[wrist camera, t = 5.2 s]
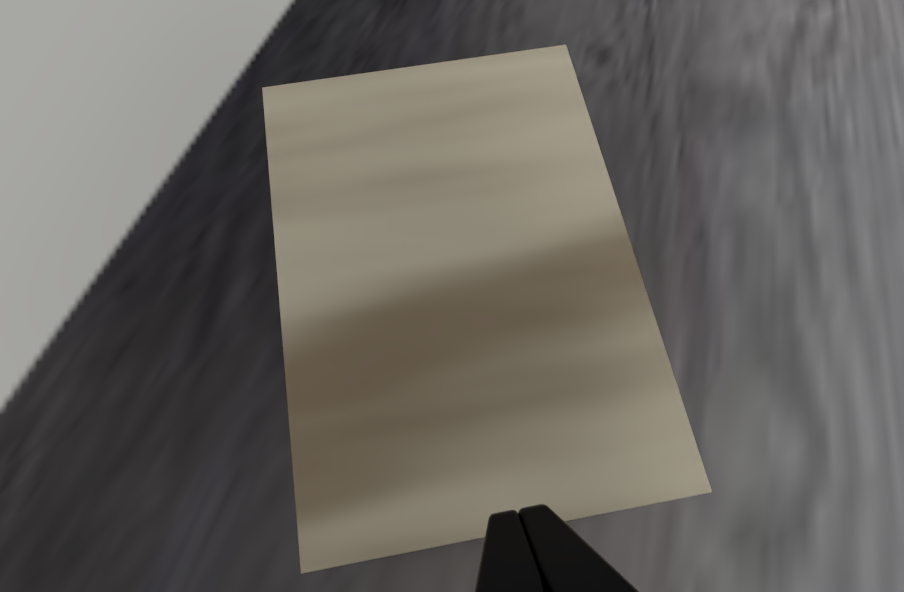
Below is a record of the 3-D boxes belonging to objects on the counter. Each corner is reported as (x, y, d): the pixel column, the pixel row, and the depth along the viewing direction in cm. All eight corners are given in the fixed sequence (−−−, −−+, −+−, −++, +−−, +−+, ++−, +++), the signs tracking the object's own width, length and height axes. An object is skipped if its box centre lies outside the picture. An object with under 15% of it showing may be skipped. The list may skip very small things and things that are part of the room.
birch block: (712, 491, 10) (565, 44, 13) (301, 573, 9) (261, 87, 13) (628, 501, 15) (536, 167, 18) (350, 556, 14) (311, 202, 18)
